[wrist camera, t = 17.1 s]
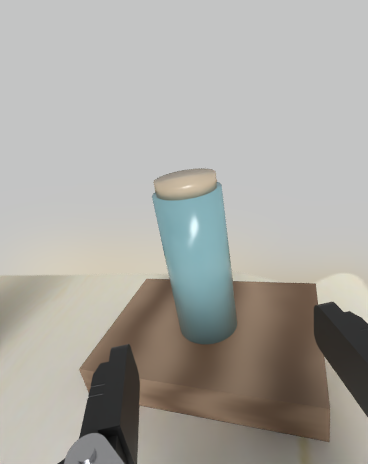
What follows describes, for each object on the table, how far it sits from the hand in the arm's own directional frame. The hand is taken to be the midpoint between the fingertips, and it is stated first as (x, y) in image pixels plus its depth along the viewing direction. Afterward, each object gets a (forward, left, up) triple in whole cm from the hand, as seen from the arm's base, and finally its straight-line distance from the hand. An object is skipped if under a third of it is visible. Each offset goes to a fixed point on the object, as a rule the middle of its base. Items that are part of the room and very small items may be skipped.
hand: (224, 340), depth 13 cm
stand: (-9, +6, -11) cm, 16 cm away
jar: (-9, +6, -8) cm, 14 cm away
